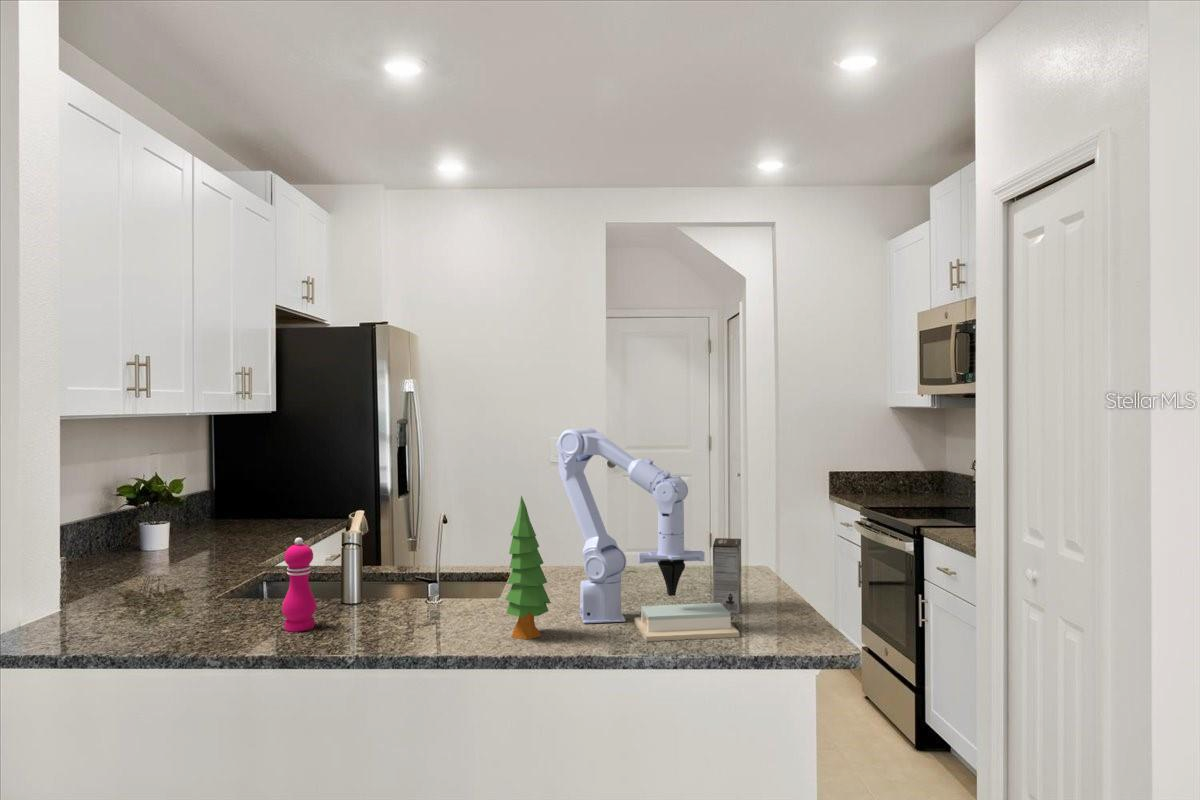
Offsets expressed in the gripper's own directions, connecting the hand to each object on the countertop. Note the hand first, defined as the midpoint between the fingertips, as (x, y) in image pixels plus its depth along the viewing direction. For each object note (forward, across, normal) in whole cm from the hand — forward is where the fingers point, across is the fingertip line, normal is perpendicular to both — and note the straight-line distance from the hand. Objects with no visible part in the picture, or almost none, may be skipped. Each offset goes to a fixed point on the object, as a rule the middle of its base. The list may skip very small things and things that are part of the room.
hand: (671, 594), depth 177 cm
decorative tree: (+8, -31, 0) cm, 32 cm away
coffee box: (+8, +17, +14) cm, 23 cm away
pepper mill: (+7, -81, +13) cm, 83 cm away
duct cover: (+4, +3, -1) cm, 5 cm away
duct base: (+8, +3, -1) cm, 8 cm away
